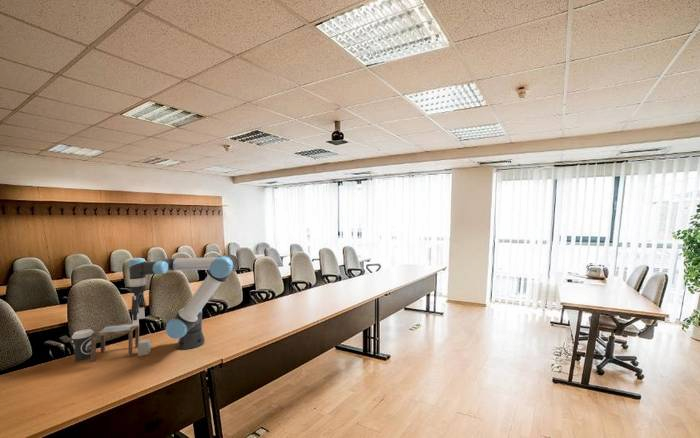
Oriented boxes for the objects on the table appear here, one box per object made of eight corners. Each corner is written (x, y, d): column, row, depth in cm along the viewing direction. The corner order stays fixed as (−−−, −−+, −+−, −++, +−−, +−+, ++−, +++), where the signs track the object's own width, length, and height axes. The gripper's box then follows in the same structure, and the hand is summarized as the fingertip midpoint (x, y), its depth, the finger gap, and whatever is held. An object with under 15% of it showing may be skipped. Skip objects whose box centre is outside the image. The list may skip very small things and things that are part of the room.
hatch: (133, 325, 179) (133, 323, 179) (127, 331, 169) (127, 329, 169) (104, 328, 174) (104, 326, 174) (96, 335, 164) (96, 333, 164)
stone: (150, 350, 175) (150, 339, 176) (148, 354, 171) (148, 342, 171) (140, 352, 174) (140, 340, 174) (138, 355, 169) (138, 343, 169)
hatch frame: (138, 346, 181) (139, 322, 181) (131, 356, 168) (131, 330, 168) (101, 351, 174) (102, 326, 175) (91, 362, 161) (91, 334, 162)
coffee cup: (91, 353, 172) (91, 327, 172) (96, 357, 167) (96, 331, 167) (69, 359, 165) (69, 332, 165) (73, 364, 159) (73, 336, 159)
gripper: (135, 282, 180) (136, 316, 180) (123, 290, 157) (124, 330, 157) (150, 280, 183) (151, 314, 183) (140, 288, 160) (141, 327, 160)
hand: (138, 322), depth 170 cm, fingers open, 13 cm apart
